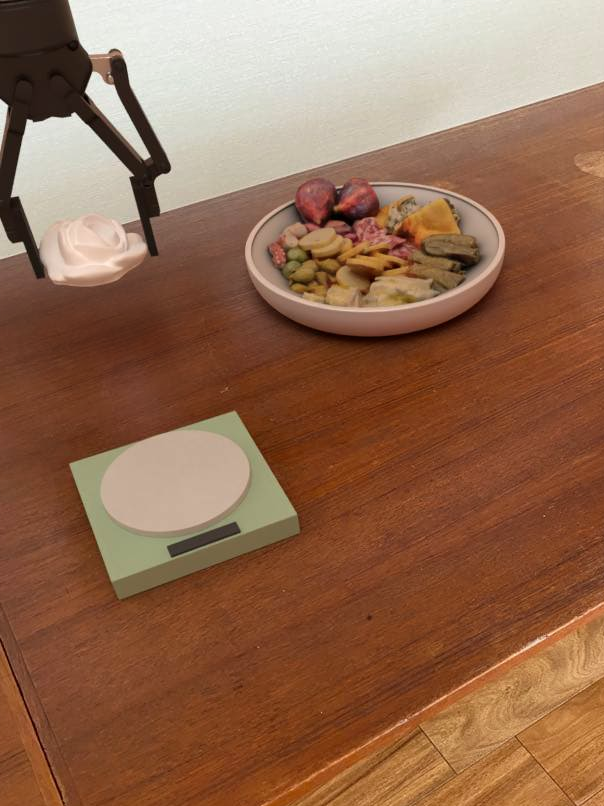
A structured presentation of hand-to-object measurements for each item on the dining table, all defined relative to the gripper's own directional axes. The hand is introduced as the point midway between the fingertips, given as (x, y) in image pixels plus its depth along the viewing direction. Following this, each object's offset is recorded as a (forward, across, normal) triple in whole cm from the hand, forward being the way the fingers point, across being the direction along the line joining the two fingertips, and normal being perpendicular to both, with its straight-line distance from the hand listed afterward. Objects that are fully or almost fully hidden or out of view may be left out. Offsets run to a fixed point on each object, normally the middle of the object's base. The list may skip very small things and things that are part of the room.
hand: (97, 260), depth 81 cm
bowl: (+14, +30, +10) cm, 35 cm away
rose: (0, 0, 0) cm, 0 cm away
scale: (+14, +2, -21) cm, 25 cm away
